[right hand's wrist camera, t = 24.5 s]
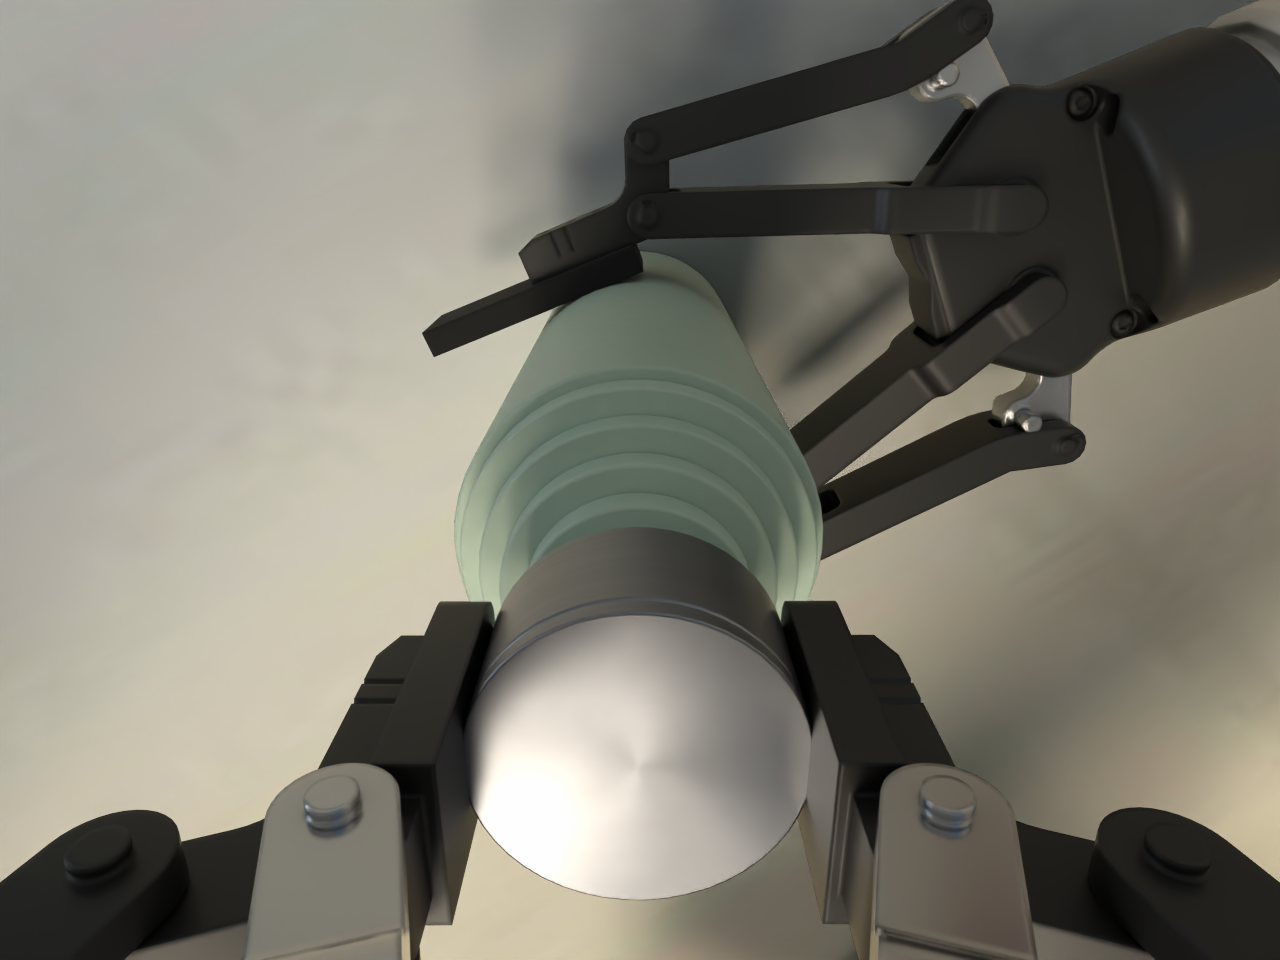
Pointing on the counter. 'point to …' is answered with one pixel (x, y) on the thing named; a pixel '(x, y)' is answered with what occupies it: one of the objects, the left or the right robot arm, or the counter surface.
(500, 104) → the counter surface
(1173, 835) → the right robot arm
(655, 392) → the bottle
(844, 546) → the left robot arm
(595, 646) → the cap
